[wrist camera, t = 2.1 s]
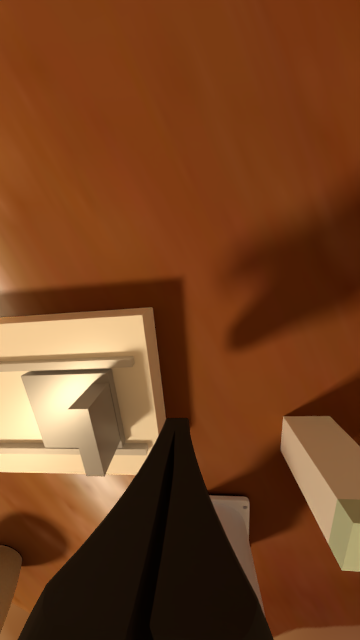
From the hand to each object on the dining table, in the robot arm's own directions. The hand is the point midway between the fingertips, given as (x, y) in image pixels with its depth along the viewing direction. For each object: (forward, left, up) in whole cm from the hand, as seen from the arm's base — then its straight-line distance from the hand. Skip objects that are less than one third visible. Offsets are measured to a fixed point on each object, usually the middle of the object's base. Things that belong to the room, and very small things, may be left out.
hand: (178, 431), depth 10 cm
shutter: (0, +8, -2) cm, 8 cm away
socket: (0, +10, -5) cm, 11 cm away
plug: (-6, -11, -5) cm, 14 cm away
